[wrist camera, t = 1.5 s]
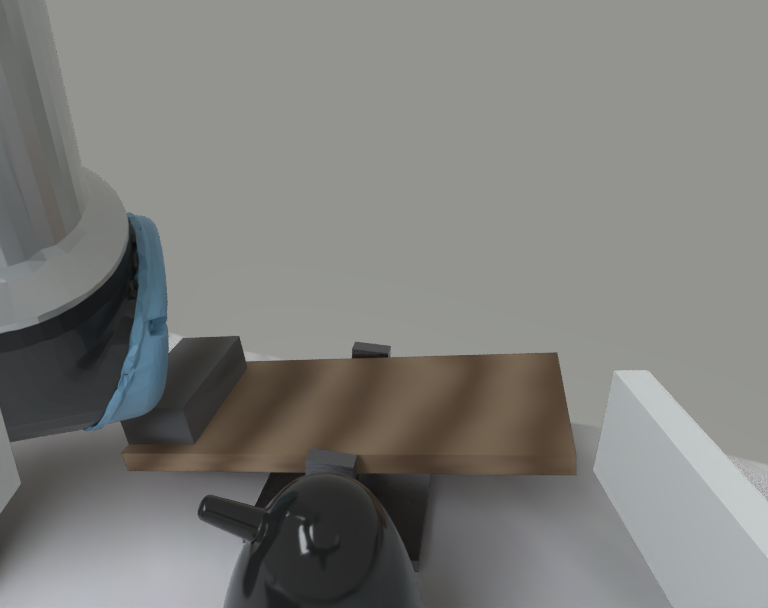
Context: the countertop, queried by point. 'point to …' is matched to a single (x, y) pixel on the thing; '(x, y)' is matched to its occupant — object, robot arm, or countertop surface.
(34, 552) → the countertop surface
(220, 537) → the countertop surface
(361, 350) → the pivot stand
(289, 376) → the balance beam
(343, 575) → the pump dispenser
